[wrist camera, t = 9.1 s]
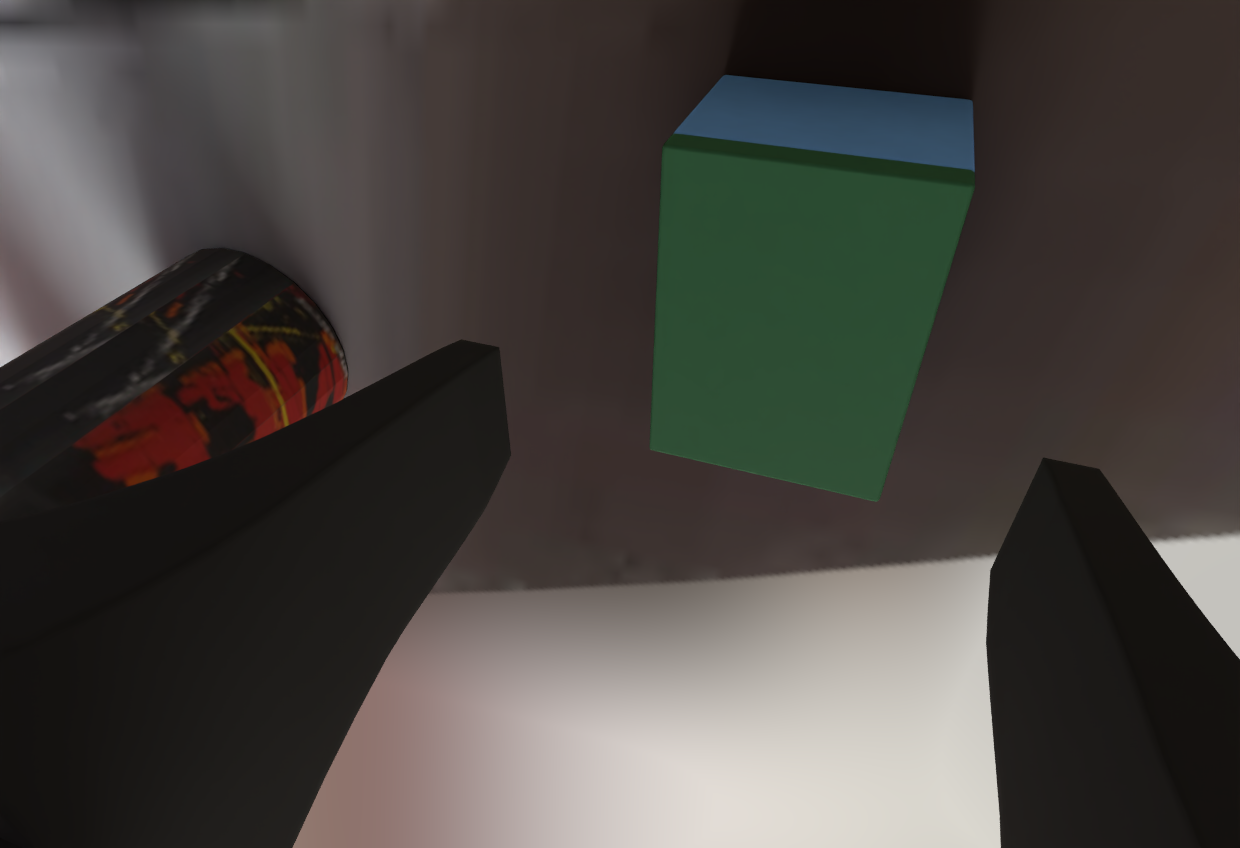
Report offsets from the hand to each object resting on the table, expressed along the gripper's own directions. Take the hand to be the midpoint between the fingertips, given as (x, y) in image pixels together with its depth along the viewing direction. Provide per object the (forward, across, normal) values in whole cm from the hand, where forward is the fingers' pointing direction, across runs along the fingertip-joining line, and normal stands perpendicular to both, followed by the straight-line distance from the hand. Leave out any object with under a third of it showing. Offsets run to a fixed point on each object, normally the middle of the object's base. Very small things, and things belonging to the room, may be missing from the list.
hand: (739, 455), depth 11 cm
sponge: (+7, 0, 0) cm, 7 cm away
